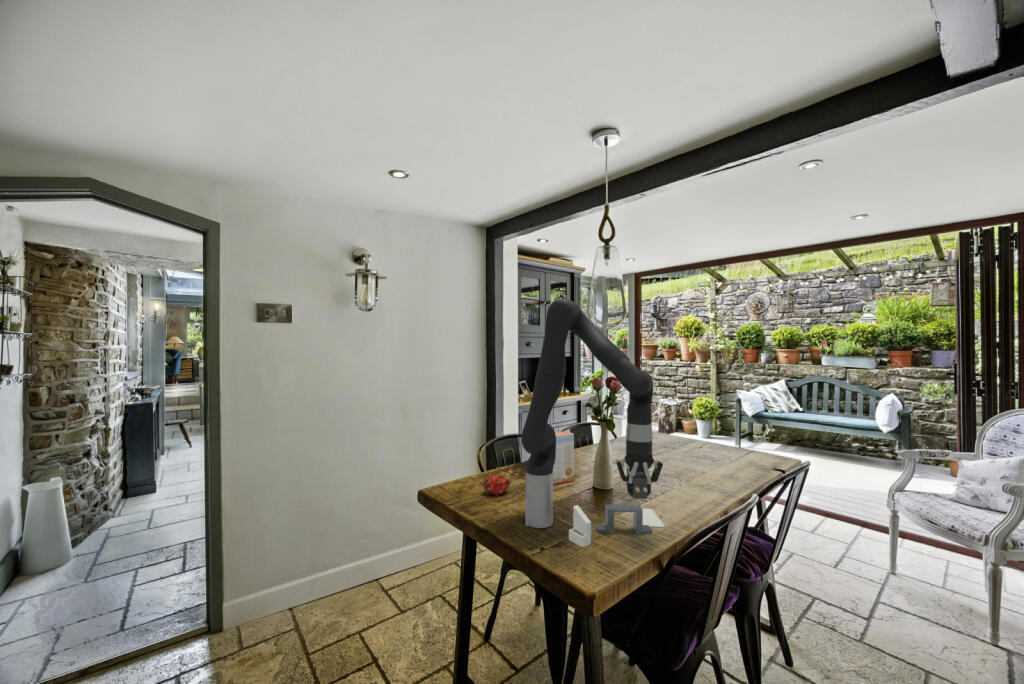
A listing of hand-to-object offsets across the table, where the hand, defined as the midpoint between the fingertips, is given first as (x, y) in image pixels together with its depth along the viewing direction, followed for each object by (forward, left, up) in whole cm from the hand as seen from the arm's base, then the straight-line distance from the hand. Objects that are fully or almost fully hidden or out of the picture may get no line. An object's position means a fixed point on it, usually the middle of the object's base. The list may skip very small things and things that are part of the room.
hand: (638, 494), depth 127 cm
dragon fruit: (-45, +40, -15) cm, 63 cm away
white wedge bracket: (-17, +1, -15) cm, 23 cm away
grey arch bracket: (-2, +9, -15) cm, 18 cm away
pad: (+8, +19, -15) cm, 26 cm away
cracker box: (-20, +54, -15) cm, 60 cm away
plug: (0, +3, 0) cm, 3 cm away
